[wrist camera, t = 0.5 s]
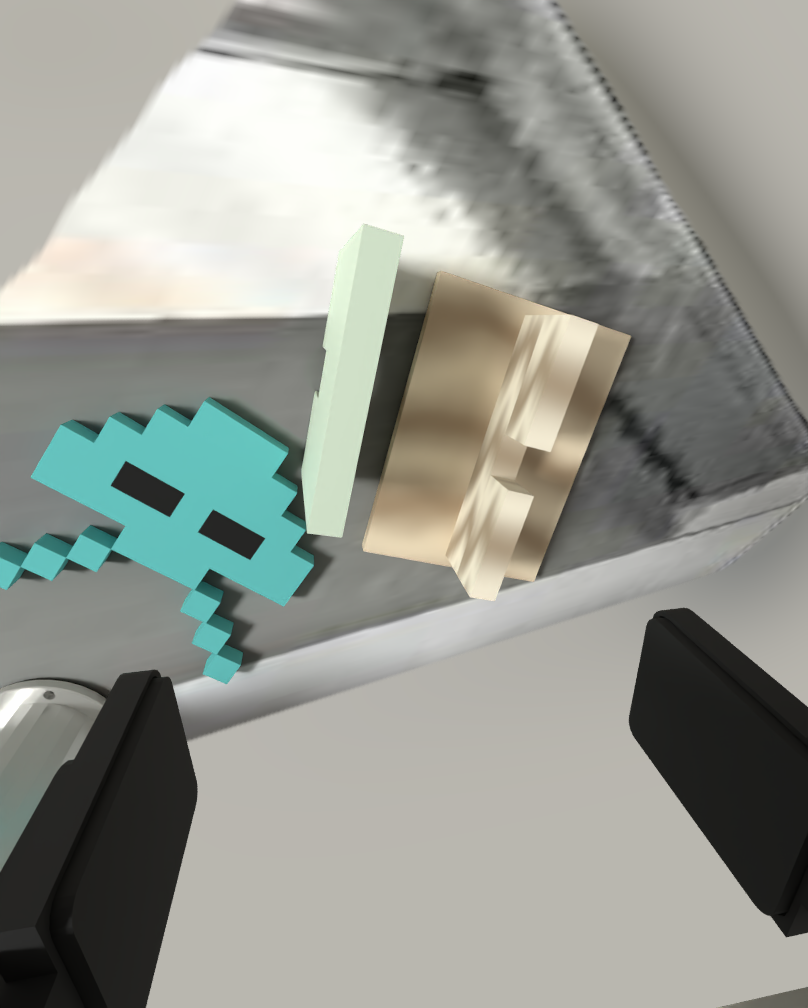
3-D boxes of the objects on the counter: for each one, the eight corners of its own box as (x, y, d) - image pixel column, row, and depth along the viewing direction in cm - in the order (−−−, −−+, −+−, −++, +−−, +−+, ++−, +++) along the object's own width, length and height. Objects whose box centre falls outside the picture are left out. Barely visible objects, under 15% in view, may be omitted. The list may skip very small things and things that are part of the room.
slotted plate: (326, 475, 40) (341, 537, 29) (301, 471, 39) (307, 533, 28) (367, 259, 35) (404, 235, 24) (339, 251, 34) (363, 223, 23)
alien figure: (230, 667, 45) (358, 491, 41) (226, 684, 43) (361, 500, 39) (-9, 561, 38) (120, 339, 34) (-27, 576, 36) (109, 340, 32)
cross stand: (528, 575, 47) (571, 625, 39) (362, 545, 42) (373, 594, 35) (622, 335, 40) (695, 339, 33) (437, 272, 36) (471, 260, 29)
